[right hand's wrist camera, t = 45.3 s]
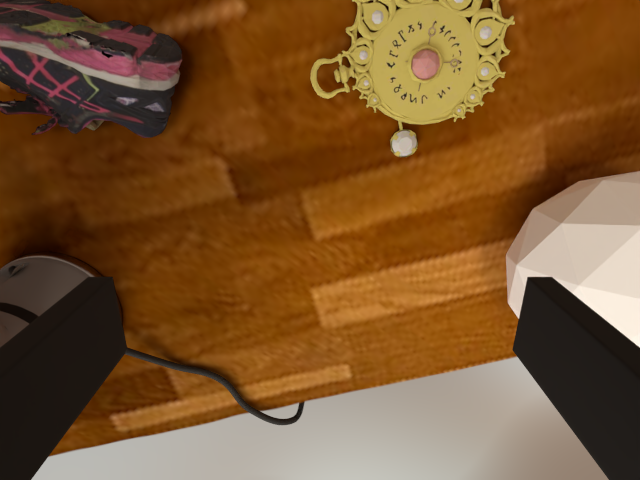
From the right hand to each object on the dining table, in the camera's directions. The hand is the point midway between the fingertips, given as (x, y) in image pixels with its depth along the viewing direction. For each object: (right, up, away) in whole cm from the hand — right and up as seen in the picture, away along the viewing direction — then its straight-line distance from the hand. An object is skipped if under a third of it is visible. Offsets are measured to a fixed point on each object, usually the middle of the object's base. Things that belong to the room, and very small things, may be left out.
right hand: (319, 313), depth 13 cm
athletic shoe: (-23, +19, +27) cm, 40 cm away
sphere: (+28, +2, +33) cm, 44 cm away
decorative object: (+9, +21, +26) cm, 35 cm away
